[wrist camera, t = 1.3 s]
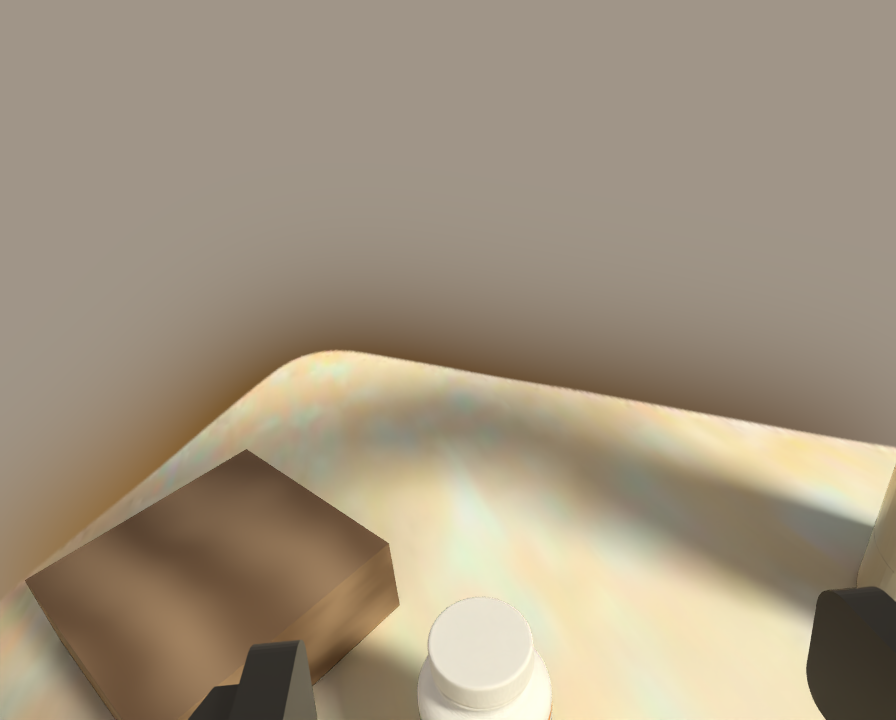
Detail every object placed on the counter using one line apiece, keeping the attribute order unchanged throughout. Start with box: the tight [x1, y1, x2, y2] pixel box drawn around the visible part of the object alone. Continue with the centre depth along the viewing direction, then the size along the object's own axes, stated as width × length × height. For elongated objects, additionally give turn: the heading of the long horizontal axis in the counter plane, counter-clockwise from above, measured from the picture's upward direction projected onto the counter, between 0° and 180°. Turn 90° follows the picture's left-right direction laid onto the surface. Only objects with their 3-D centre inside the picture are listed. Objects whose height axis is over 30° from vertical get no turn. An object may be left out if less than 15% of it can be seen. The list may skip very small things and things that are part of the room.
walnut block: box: [25, 449, 400, 720], centre depth 36 cm, size 14×14×5 cm
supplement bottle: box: [417, 597, 552, 720], centre depth 27 cm, size 5×5×10 cm
